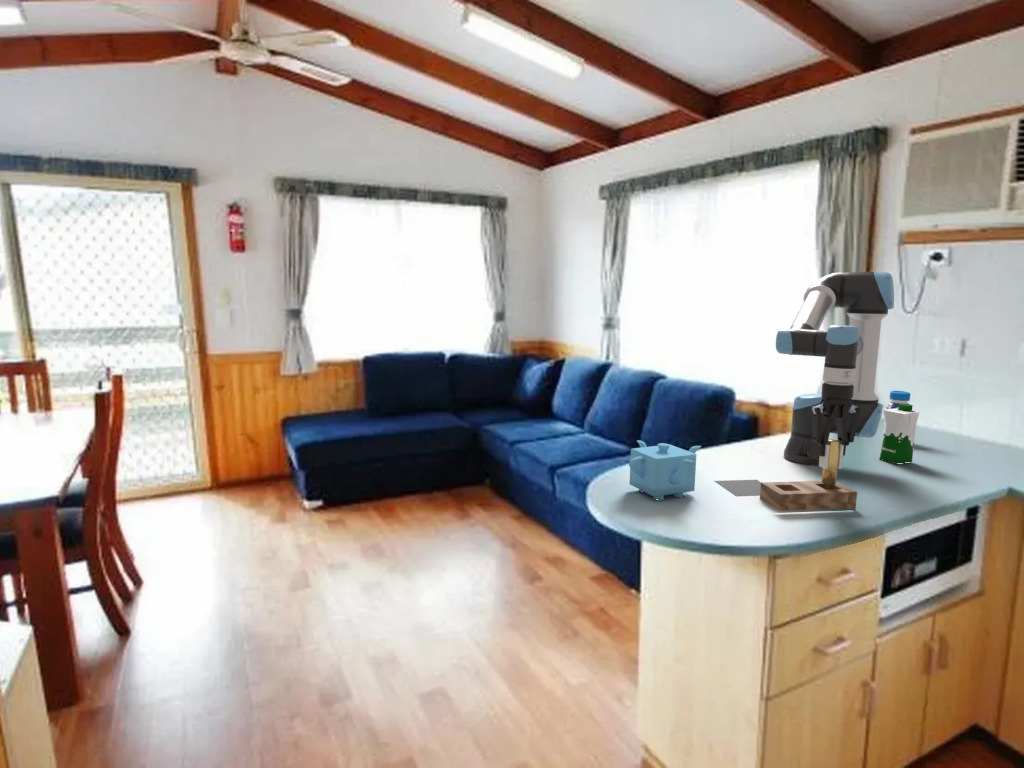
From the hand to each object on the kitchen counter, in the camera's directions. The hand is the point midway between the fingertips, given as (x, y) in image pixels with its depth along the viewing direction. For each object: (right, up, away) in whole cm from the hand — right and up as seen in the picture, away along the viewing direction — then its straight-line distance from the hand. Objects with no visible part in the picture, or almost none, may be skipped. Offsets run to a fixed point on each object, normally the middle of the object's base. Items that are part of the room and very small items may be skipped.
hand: (830, 467), depth 167 cm
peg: (0, -4, +1) cm, 4 cm away
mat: (-18, -8, +13) cm, 24 cm away
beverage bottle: (+64, 0, +74) cm, 98 cm away
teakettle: (-43, -9, +9) cm, 45 cm away
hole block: (-6, -10, +1) cm, 12 cm away
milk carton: (+47, -4, +46) cm, 65 cm away
